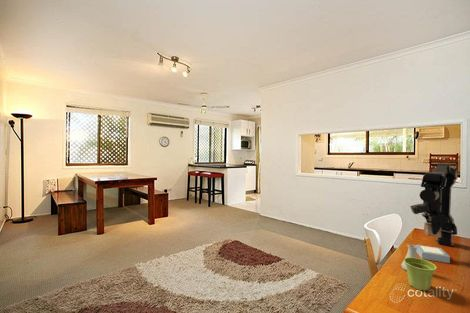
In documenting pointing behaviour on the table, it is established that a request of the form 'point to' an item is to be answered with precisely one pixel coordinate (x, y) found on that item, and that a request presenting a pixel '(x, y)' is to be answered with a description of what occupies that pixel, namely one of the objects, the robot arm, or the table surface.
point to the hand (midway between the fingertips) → (432, 232)
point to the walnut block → (430, 230)
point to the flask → (410, 254)
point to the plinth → (432, 254)
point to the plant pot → (419, 273)
